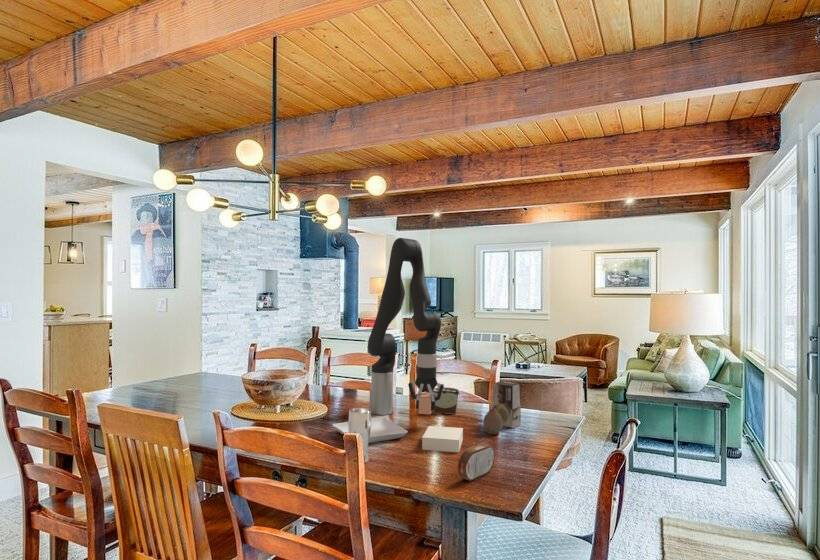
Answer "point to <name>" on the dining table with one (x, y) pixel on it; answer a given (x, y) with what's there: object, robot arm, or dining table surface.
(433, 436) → the plinth
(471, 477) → the tin
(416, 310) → the robot arm
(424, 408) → the light pinkish-tan block
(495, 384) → the coffee box
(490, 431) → the vase
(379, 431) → the salad plate
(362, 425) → the beer glass
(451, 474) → the dining table surface
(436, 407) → the food container
